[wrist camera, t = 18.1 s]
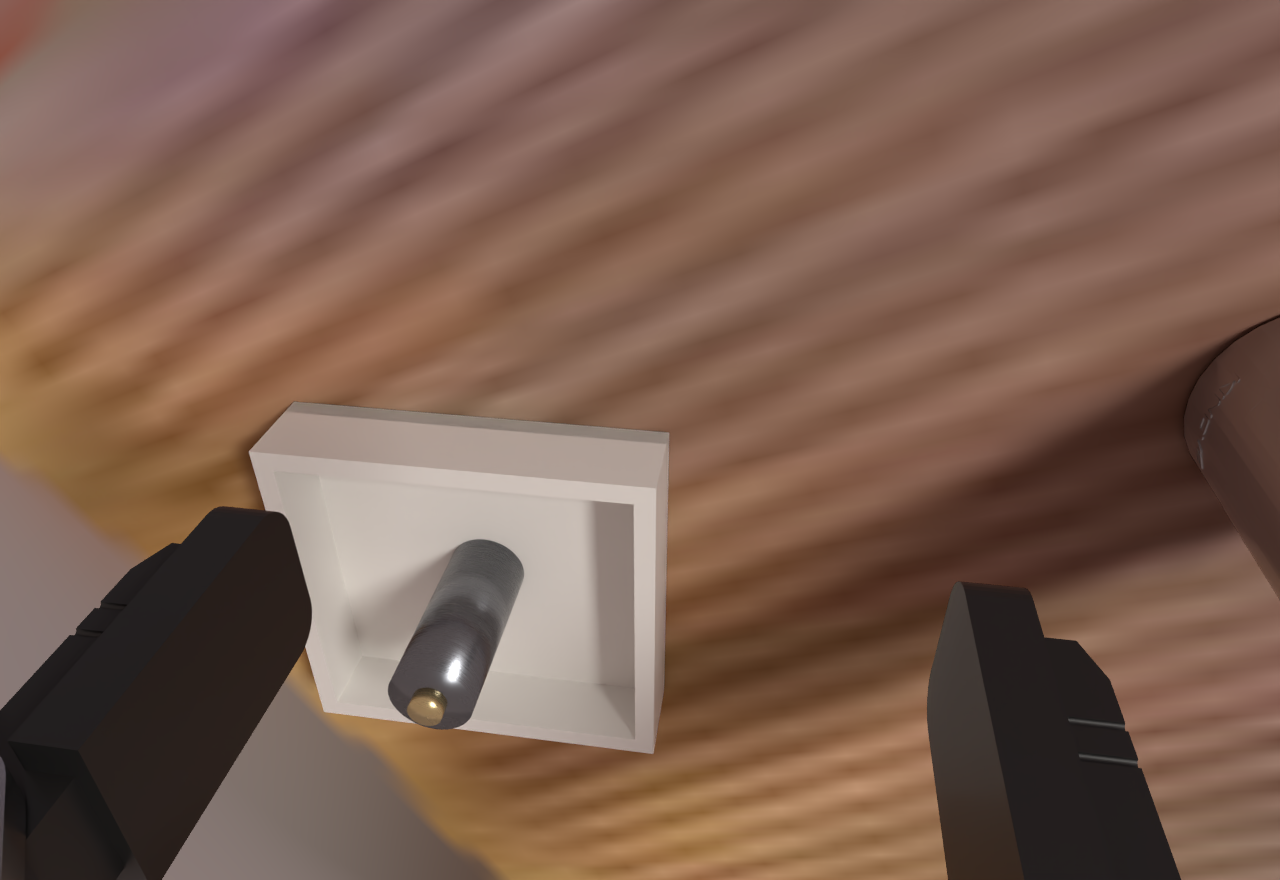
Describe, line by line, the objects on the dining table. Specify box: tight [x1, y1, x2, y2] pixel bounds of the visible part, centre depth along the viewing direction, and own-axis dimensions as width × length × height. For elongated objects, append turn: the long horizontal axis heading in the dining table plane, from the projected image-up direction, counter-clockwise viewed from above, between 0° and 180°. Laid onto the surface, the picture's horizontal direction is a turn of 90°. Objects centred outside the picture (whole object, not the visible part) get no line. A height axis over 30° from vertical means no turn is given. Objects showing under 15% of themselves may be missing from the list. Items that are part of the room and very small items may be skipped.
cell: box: [388, 539, 524, 729], centre depth 45 cm, size 4×4×10 cm
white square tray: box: [249, 402, 669, 754], centre depth 48 cm, size 19×18×4 cm
